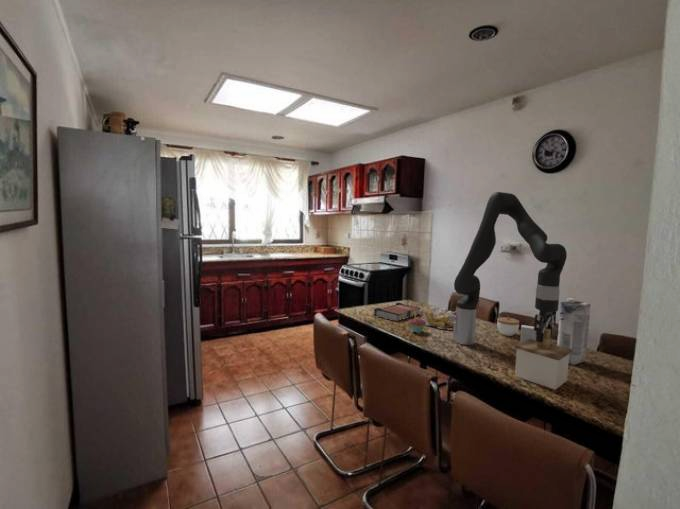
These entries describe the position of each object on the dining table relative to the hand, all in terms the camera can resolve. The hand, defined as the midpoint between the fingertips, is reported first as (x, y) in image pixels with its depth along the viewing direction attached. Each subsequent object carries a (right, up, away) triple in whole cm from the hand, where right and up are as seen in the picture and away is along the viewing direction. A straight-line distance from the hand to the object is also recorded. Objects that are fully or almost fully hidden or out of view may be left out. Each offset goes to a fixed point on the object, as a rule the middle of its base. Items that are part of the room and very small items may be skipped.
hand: (543, 339), depth 133 cm
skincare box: (+9, -13, +29) cm, 33 cm away
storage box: (0, -15, +1) cm, 15 cm away
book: (-41, -7, +88) cm, 98 cm away
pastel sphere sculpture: (-16, -9, +71) cm, 73 cm away
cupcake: (-36, -9, +55) cm, 66 cm away
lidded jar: (+13, -11, +56) cm, 58 cm away
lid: (0, -4, 0) cm, 4 cm away
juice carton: (+23, -14, +20) cm, 34 cm away
